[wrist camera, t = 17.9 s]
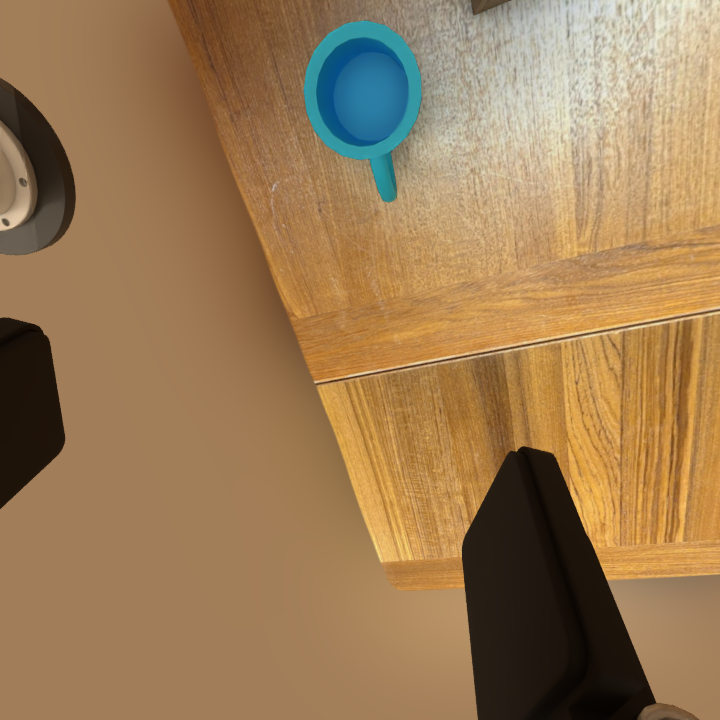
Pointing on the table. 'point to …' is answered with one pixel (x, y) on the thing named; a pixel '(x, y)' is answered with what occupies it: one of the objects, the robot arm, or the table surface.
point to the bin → (485, 5)
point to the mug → (364, 96)
